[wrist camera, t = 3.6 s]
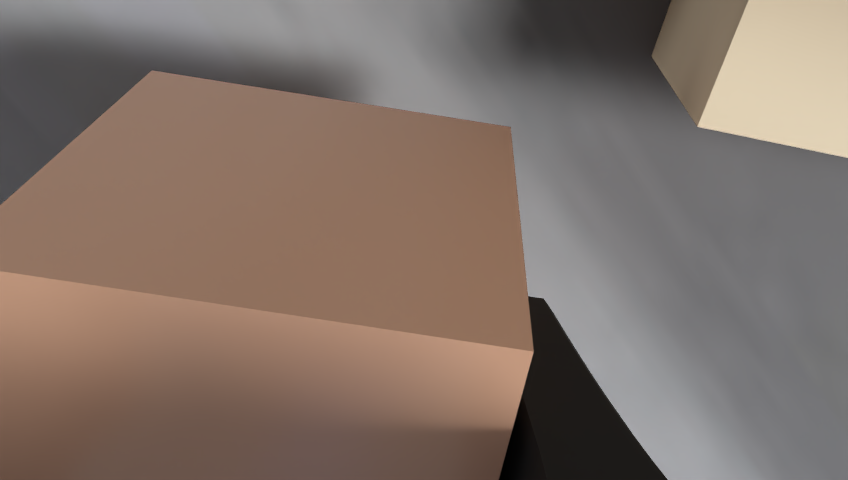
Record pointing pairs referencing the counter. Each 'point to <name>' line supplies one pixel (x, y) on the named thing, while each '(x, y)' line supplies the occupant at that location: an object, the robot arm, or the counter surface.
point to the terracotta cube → (263, 293)
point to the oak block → (761, 68)
